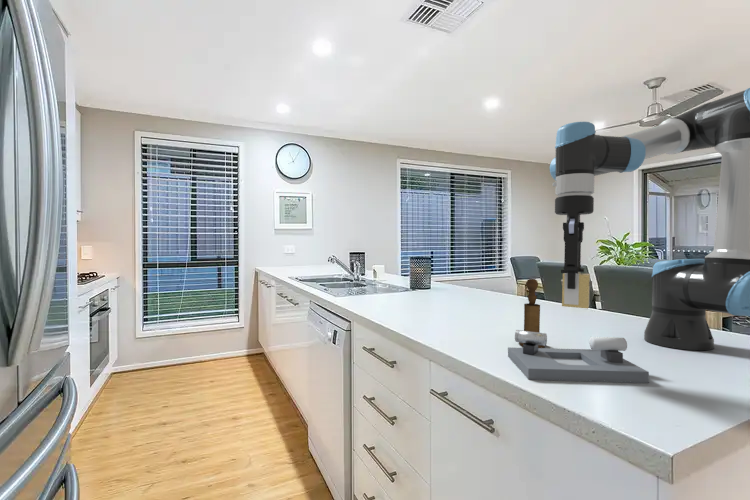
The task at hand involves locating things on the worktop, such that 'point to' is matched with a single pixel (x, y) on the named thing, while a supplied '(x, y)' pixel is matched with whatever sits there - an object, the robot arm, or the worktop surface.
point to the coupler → (580, 291)
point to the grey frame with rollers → (581, 363)
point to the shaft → (530, 340)
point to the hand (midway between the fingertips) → (572, 302)
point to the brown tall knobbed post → (532, 310)
